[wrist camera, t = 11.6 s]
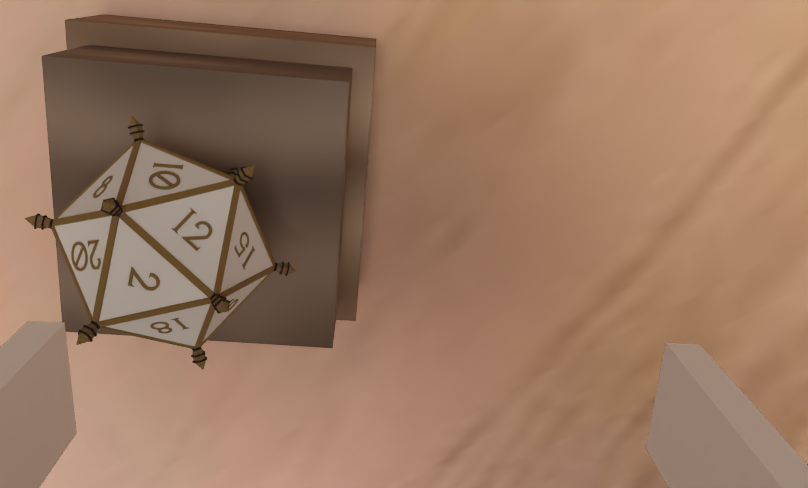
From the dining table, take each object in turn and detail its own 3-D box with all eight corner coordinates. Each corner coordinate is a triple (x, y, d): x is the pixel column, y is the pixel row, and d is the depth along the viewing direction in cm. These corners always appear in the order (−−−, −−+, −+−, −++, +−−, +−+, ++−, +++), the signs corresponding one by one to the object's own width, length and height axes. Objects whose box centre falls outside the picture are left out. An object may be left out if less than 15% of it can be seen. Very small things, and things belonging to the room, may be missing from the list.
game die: (198, 227, 35) (50, 389, 29) (120, 72, 30) (-83, 231, 23) (356, 257, 31) (224, 451, 25) (301, 85, 26) (115, 280, 20)
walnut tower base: (357, 283, 43) (352, 368, 34) (115, 267, 42) (41, 349, 33) (376, 38, 38) (375, 59, 29) (103, 14, 38) (13, 27, 28)
